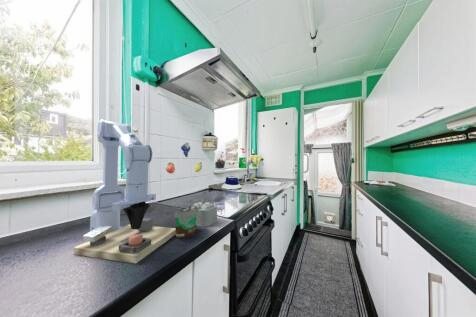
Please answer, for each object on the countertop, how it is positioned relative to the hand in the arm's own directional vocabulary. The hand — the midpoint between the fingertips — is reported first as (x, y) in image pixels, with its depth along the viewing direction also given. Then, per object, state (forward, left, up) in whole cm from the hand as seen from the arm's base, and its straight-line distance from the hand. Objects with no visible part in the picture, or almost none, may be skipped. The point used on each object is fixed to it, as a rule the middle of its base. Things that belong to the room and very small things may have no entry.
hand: (135, 228), depth 50 cm
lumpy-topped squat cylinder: (+8, +31, -8) cm, 33 cm away
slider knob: (-7, +12, -5) cm, 15 cm away
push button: (0, 0, -5) cm, 5 cm away
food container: (+9, +17, -8) cm, 21 cm away
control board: (-7, +6, -8) cm, 12 cm away
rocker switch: (-14, 0, -3) cm, 14 cm away
